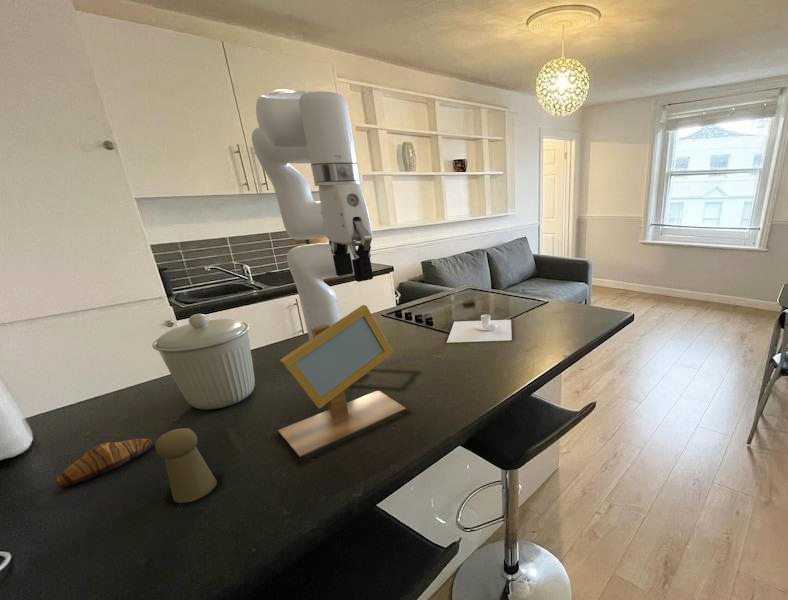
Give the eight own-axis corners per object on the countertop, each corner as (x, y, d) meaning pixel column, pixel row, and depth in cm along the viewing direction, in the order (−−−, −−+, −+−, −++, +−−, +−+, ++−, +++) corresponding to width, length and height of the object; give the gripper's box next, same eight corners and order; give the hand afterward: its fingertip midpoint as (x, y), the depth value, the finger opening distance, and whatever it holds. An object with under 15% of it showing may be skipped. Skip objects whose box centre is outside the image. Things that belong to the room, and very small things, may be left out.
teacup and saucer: (498, 331, 132) (497, 319, 130) (473, 332, 132) (472, 320, 130) (498, 323, 140) (498, 311, 138) (475, 323, 140) (474, 312, 139)
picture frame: (316, 406, 79) (279, 359, 72) (389, 350, 87) (363, 304, 80) (319, 409, 78) (282, 362, 71) (393, 352, 86) (366, 305, 79)
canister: (159, 412, 92) (123, 324, 84) (232, 377, 108) (207, 300, 100) (215, 425, 86) (182, 331, 78) (284, 386, 102) (262, 305, 94)
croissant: (68, 497, 67) (54, 472, 65) (53, 484, 70) (40, 460, 69) (162, 451, 78) (153, 429, 76) (146, 442, 81) (136, 421, 79)
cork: (187, 479, 70) (165, 424, 66) (224, 475, 71) (204, 421, 67) (164, 504, 65) (138, 446, 61) (203, 501, 65) (180, 443, 61)
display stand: (279, 436, 81) (251, 338, 74) (379, 395, 95) (364, 309, 87) (301, 462, 73) (271, 355, 65) (407, 414, 87) (393, 321, 79)
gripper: (381, 173, 67) (396, 279, 73) (336, 177, 79) (352, 268, 85) (336, 174, 62) (356, 288, 69) (296, 178, 74) (316, 275, 80)
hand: (354, 276), depth 77 cm, fingers open, 7 cm apart
